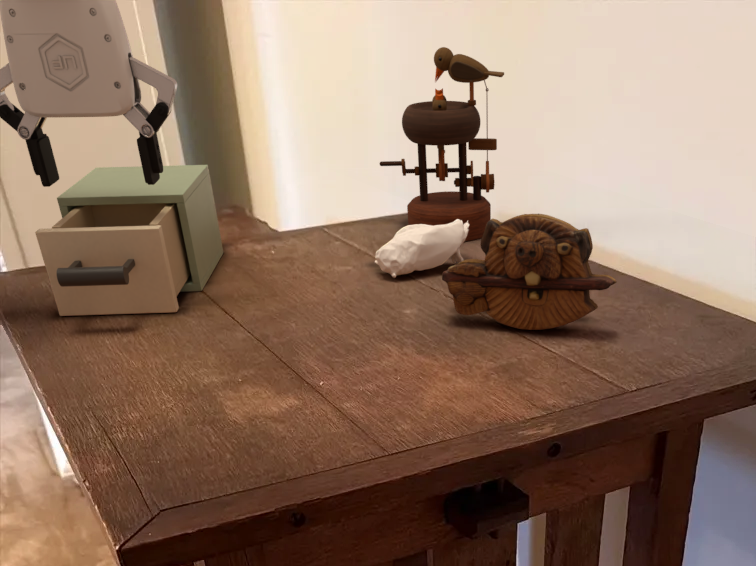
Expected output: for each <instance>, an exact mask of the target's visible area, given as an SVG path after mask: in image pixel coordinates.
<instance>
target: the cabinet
mask: <svg viewBox="0 0 756 566" xmlns="http://www.w3.org/2000/svg"><path fill="white" fill-rule="evenodd" d="M159 174H160V179H159V180H158V181H157V182H156V183H155V184H154V185H148V183H146V182H145V178H144V174H143V169H142V165H141V166H108V167H107V166H106V167H105V166H103V167H95V168H94V169H92V170H91V171H90V172H88V173H87V174H86V175H84V176H83V177H82V178H81V179H79V180H78V181H77V182H75V183H74V184H73V185H72V186H70V187H69V188H68V189H66V190H65V191H63V192H62V193H61V194H60V195H59V196H57V197H56V201H57V204H58V208H59V211H60V215H61V219H62V218H63V217H64V216H66V215H67V214H68V213H69V212H70V211H72V210H73V209H74V208H75V207H76V206H85V205H121V204H157V203H177V207H178V212H179V217H180V222H181V227H182V232H183V237H184V242H185V247H186V251H187V256H188V261H189V266H190V271H191V274H190V276H189V278H188V279H187V281H186V282H185V284H184V286H183V287H182V289H181V290H180V292H179V293H183V292H188V293H189V292H202V291H203V290H204V288H205V286H206V285H207V282H208V281H209V279H210V277H211V275H212V274H213V272H214V270H215V269H216V267H217V265H218V263H219V262H220V261H221V260H220V259H222V256H223V254H224V247H223V242H222V237H221V230H220V224H219V219H218V214H217V207H216V201H215V196H214V190H213V186H212V185H213V184H212V179H211V175H210V170H209V164H183V165H182V164H181V165H163V172H162V173H159Z"/></svg>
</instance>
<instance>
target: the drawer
mask: <svg viewBox="0 0 756 566" xmlns="http://www.w3.org/2000/svg"><path fill="white" fill-rule="evenodd" d="M34 233H35V236H36V240H37V244H38V247H39V250H40V254H41V257H42V259H43V264H44V267H45V270H46V273H47V277H48V279H49V284H50V288H51V291H52V294H53V297H54V300H55V304H56V308H57V311H58V314H59V316H60V317H65V316H66V317H71V316H72V317H73V316H100V315H101V316H102V315H104V316H105V315H131V314H134V315H135V314H160V313H161V314H163V313H177V312H178V311H179V309H180V306H179V302H178V298H177V297H178V295H179V293H181V292H180V290H181V289H182V287H183V286H184V284H185V282H186V281H187V279H188V278H189V276H190V274H191V271H190V266H189V261H188V256H187V251H186V247H185V242H184V237H183V232H182V227H181V222H180V217H179V212H178V207H177V203H157V204H121V205H85V206H76V207H75V208H74V209H73V210H72V211H70V212H69V213H68V214H67V215H66V216H64V217H63V218H62V217H61V219H59V220H58V221H57V222H56V223H55V224H53V226H51V228H37V230H36V231H35V232H34Z"/></svg>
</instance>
